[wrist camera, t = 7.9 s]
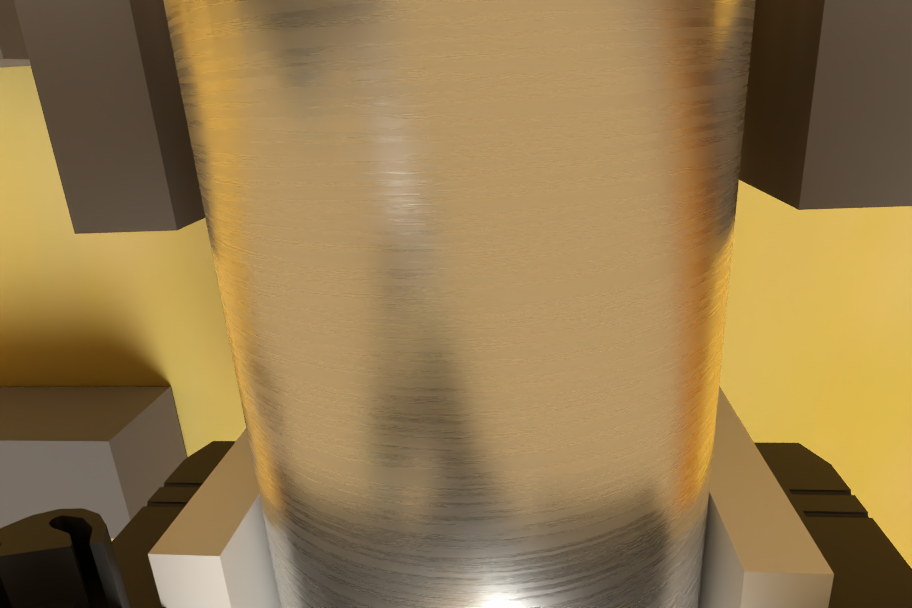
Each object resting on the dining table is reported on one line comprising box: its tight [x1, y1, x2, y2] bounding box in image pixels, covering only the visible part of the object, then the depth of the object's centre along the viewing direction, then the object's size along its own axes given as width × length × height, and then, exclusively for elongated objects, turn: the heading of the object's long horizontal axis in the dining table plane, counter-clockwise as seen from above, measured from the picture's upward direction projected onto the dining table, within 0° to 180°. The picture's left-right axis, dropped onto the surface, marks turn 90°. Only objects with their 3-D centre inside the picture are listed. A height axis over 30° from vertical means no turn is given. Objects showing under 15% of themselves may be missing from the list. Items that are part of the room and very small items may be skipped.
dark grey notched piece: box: [14, 0, 912, 234], centre depth 12 cm, size 22×9×10 cm, turn 3°
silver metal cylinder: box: [163, 0, 756, 608], centre depth 8 cm, size 18×5×5 cm, turn 3°
